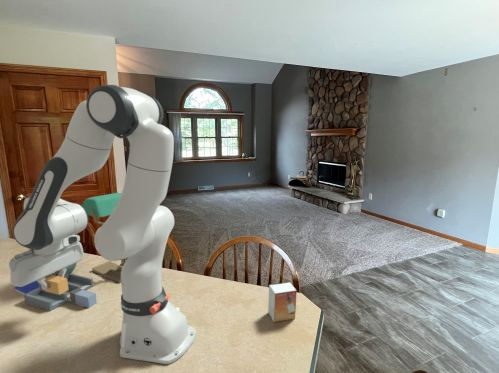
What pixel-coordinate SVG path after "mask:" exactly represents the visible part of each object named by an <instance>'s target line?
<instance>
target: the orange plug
mask: <svg viewBox="0 0 499 373" xmlns="http://www.w3.org/2000/svg"><path fill="white" fill-rule="evenodd" d="M44 281H45V282H49V283H50V288H48V289H46V290H43V289H42V286H41V284H40V283H39V282H38V283H39V289H40V290H42V291H46V292H50V293H54V294H58V295H60V294H62V293H64V292H65V291H67V290H69V289H68V282H67V278H64V277H59V276H58V275H54V274H53V273H52V274H50V275H47V276H45V280H44Z"/></svg>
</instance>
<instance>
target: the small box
mask: <svg viewBox="0 0 499 373" xmlns="http://www.w3.org/2000/svg"><path fill="white" fill-rule="evenodd" d="M297 292H298V291H297V289H296V288H295V287H294V285H293V284H292V282H285V283H277V284H269V285H268V306H267V313H268V315H269V316H270V318H271V321H272V322H274V323H277V322H282V321H288V320H289V321H290V320H295V319H296V310H297V307H296V306H297Z"/></svg>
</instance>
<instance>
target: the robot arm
mask: <svg viewBox="0 0 499 373" xmlns="http://www.w3.org/2000/svg"><path fill="white" fill-rule="evenodd" d="M163 119H164V109H163V107H162V105H161V103H160V102H159V101H158V100H157V99H156V98H155V97H154V96H152V95H151V94H148V93H143V92H141V91H139V90H136V89H135V88H131V87H125V86H119V85H116V84H102V85H99V86H96V87H94V88H93V89H91V91H90V92H89V94H88V96H87V97H86V100H83V101H82V102H80V103H79V104H78V105H77V107H76V109H75V111H74V113H73V114H72V116H71V119H70V121H69V124H68V127H67V129H66V133H65V137H64V138H63V141H62V144H61V146H60V147H59V149H58V150H57V152H55V155H54V156H52V158H51V159H49V161H47V162H46V164H45V165H44V167H43V168H42V170H41V172H40V174H39V176H38V177H37V178H38V179H37V181H36V182H35V184H34V185H35V186H34V187H33V189H32V192H31V194H30V195H28V196H27V197H26V198H25V199H24V200H23V211H22V212H21V214H20V215H18V217H17V219H16V221H15V223H14V225H13V228H12V229H13V230H12V232H13V233H12V234H13V238H14V240H15V241H16V243H17V244H18V245H20V246H22V247H23V248H26V249H28V250H25V251H24V252H21V253H17V254H15V255H14V256H13V257H11V258H10V260H9V261H8V266H9V270H10V272H9V273H10V283H11V285H13V286H15V287H17V286H18V287H23V286H25V285H27V284H30V283H32V282H34V281H37V282H39V283H40V284H41V286H42V289H43V290H46V289H48V288H50V283H49V282H45V281H44V280H45V276H47V275H50V274H52V275H53V274H55V272H56V271H59V275H57V276H59V277H64V276H65V275H66V274H65V273H66V270H67V269H66V267H67V266H69V265H72V264H74V263H76V262H77V263H78V262H81V261H82V260H83V258H84V255H85V254H84V248H83V245H82V243H81V242H80V241H81V237H80V235H77V234H79V233H81V232H82V231H85V229H86V228H87V226H88V225H89V215H88V214H87V212H86V210H85V209H84V208H83V207H82V204H79V203H77V202H76V203H75V202H70V201H67V200H66V199H62V198H61V197H62V195H63V192H64V191H65V190H66V189H67V188H68V187H69V186H71V185H72V184H73V183H75V182H78V181H79V180H80V179H82V178H84V177H86V176H89V175H92V174H94V173H96V172H98V171H99V170H101V169H103V167H104V165H105V164H106V162H107V161H108V159H109V157H110V154H111V151H112V148H113V145H114V144H113V143H114V140H115V138H116V137H117V138H119V139H124V138H127V140H128V142H129V153H128V159H127V167H126V171H125V179H124V184H123V186H122V191H121V192H120V193H121V196H120V198H119V200H118V202H117V204H116V206H115V208H114V210H113V212H112V213H111V215H108V218H107V219H106V220H105V221H104V222H103V223H104V224H103V225H102V224H101V226H100V227H99V228H97V230H96V231H95V234H94V246H95V249H96V251H97V253H98V254H99V255H100V256H101V257H102V258H103V259H105V260H107V261H111V262H117V261H121V260H122V259H125V258H126V262H125V264H124V265H123V267H122V270H121V283H120V284H121V295H120V305H121V310H122V322H121V331H120V332H121V333H120V337H119V346H120V350H119V357H120V358H123V359H130V360H137V361H145V362H149V363H150V362H152V363H156V364H157V363H158V364H164V365H170V364H172V363H174V362H176V361H177V360H178V359H180V358H181V357H182V356H183V355H185V353H186V352H187V351H188V350H189V349H190V347H191V345H193V342H194V341H195V338H196V335H197V331H196V328H195V327H193V326H191V325H189V324H188V320H187V317H186V315H185V314H184V313H183V312H182V311H181V309H180V308H179V307H177V306H175V305H174V304H173V303H171V301H169V299H170V298H171V293H168V294H167V293H166V291H165V289H164V286H163V260H164V255H165V251H166V246H167V242H168V238H169V236H170V234H171V232H172V230H173V228H174V227H175V217H174V214H173V212H172V211H171V210H170V209H169V208H168V207H167V206H164V205H161V204H162V202H163V201H164V200H165V199H166V196H167V193H168V188H169V183H170V179H171V175H172V174H171V173H172V168H173V162H174V150H175V148H174V147H175V139H174V135H173V134H174V133H173V132H172V130H170V129H169V127H166V126H165V125H163V124H162V122H163ZM77 263H76V264H77Z"/></svg>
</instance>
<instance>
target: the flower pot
mask: <svg viewBox="0 0 499 373" xmlns="http://www.w3.org/2000/svg"><path fill="white" fill-rule="evenodd" d="M77 263H78V262H76V263H74V264H72V265H69V266H67V267H66V269H67V270H66V273H65V275H67V274H69V273H71V274H72V273H73V272H74V270H75V269H76V266H77ZM54 274H56V276H58V275H59V271H56V272H54Z"/></svg>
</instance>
